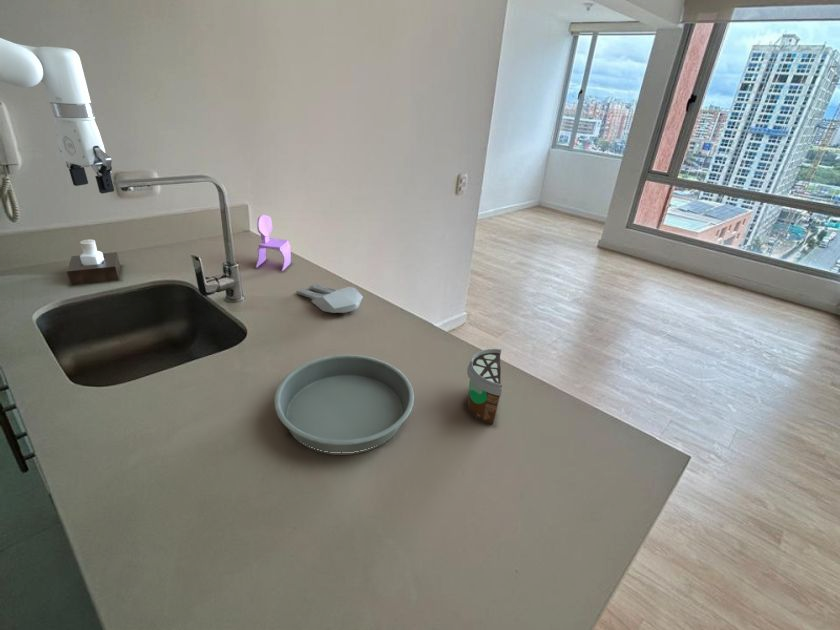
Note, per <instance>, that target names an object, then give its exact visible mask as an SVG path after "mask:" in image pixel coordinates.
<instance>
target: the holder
mask: <svg viewBox="0 0 840 630" xmlns="http://www.w3.org/2000/svg"><path fill="white" fill-rule="evenodd" d="M102 254H103V257H104V264H96V265H86V266H83V265H82V262H81V259H80V255H71V257H70V260H69V264H68V267H67V269H66V273H67V277H68V279H69V283H70V285H71V286H79V285H81V286H82V285H88V284H97V283H106V282H115V281H119V280H120V273H121V263H120V258H119V254H118V252H117V251H116V252H115V251H114V252H105V253H104V252H102Z"/></svg>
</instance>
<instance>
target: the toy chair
mask: <svg viewBox="0 0 840 630" xmlns="http://www.w3.org/2000/svg"><path fill="white" fill-rule="evenodd" d="M256 227H257V232H258V233H259V235H260V237H261V243H259V244H258V248H257V261H256V264H255V268H258V267H260V265H262V264H263V263H264V262H265V261H266V260H267V258H266V252H267V249H268V250H274V251H278V252H279V253H280V254H281V256H282V258H283V262H282V267H281V270H280V271H281V272H283V271H284V270H286V269H287V267H288V266H290V265H291V263H292V262H291V259H292V257H291V256H292V255H291V253H292V252H291V244H290V242H289V239H280V238H274V237H270V234H271V232H272V231H273V229H274V228H273V222H272V217H271V216H269V215H266V214H262V215H259V216H258V218H257V223H256Z"/></svg>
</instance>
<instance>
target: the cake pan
mask: <svg viewBox="0 0 840 630" xmlns="http://www.w3.org/2000/svg"><path fill="white" fill-rule="evenodd" d="M273 400H274V402H273V403H274V409H275V413H276V415H277V417H278V419H279V420H280V422H281V423H282V424H283V425H284V426H285V427H286V428H287V429H288V431H289V432H290V434H291V436H293V435H294V436H295V437H296V438H295V437H294V436H293V438H294V439H295V440H296V441H297V442H298V443H300V444H301V445H303V446H304V447H306V448H308V449H310V450H313V451H315V452H318V453H321V454H327V455H331V456H351V455H357V454H363V453H366V452H369V451H372V450H374V449H377V448H379V447H380V446H382V445H383V444H385V443H387V442H388V441H389V440H391V439H392V438H393V437H394V435H395V434H397V432H398V431H399V429H400V427H401V425H402V424H403V423H404V422H405V421H406V420H407V418H409V415H410V414H411V413H412V410H413V407H414V402H415V393H414V389H413V386H412V384H411V382H410V380H409V379H408V377H407V376H406V375H405V374H404V373H403V372H402V371H400V369H398V368H396V367H395V366H394V365H392V364H390V363H388V362H386V361H384V360H381V359H379V358H375V357H371V356H366V355H360V354H359V355H358V354H335V355H328V356H323V357H320V358H315V359H313V360H310V361H307V362H305V363H303V364H301V365H300V366H298V367H296V368H294V369H293V370H292V371H291V372H289V373H288V374H287V375H286V376H285V377H284V378H283V379H282V380H281V382H280V383H279V385H278V387H277V389H276V391H275V393H274V399H273ZM300 441H301V442H300ZM384 441H385V442H384ZM303 443H304V444H303ZM305 444H306V445H305ZM376 445H377V446H376ZM309 446H310V447H309ZM374 446H375V447H374ZM311 447H313V448H311ZM371 447H373V448H371ZM314 448H315V449H314ZM368 448H370V449H368ZM317 449H319V450H317ZM364 449H367V450H364ZM320 450H322V451H320ZM360 450H364V451H360ZM324 451H328V452H324ZM354 451H359V452H354ZM330 452H341V453H330ZM342 452H354V453H342Z"/></svg>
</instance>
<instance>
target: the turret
mask: <svg viewBox="0 0 840 630" xmlns="http://www.w3.org/2000/svg"><path fill="white" fill-rule="evenodd" d="M309 289H311V290H309ZM309 289H305V288H300V289H298V290H296V293H297V294H298V295H300V296H303V297H306V298H309V299H311V300H310V301H311V303H313V304H314V305H315V306H316V307H318V309H320V310H321V311H322V312H326V313H332V314H336V313H339V314H346V313H349V312H353V311H356V310H357V309H358V308H359V307H360V304H361V302H362V300H363V295H362V294H361V293H360V292H359V290H358V289H357V288H356V287H354V286H346V287H342V288H340V289H335V288H330V287H328V286H322V285H320V284H316V283H315V284H313V285H310V286H309Z"/></svg>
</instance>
